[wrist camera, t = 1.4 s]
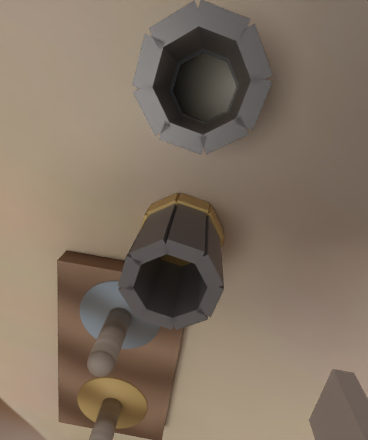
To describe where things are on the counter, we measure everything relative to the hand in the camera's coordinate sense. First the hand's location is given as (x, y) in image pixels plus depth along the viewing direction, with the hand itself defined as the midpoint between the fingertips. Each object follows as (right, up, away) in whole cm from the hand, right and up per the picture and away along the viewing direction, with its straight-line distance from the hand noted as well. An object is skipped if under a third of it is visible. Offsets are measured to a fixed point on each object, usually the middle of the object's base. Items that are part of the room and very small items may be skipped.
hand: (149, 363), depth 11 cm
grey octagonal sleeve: (+3, +13, +7) cm, 15 cm away
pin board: (-4, -6, +16) cm, 17 cm away
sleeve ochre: (+1, +4, +11) cm, 12 cm away
